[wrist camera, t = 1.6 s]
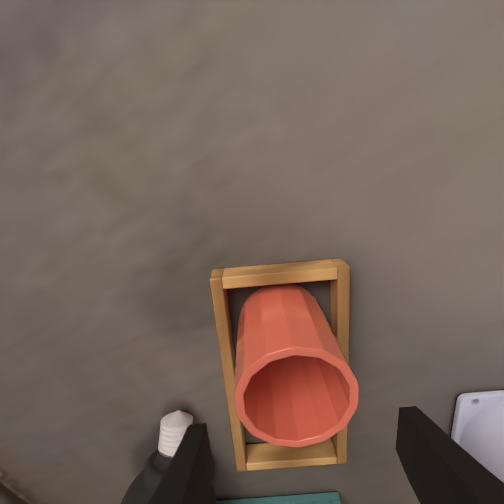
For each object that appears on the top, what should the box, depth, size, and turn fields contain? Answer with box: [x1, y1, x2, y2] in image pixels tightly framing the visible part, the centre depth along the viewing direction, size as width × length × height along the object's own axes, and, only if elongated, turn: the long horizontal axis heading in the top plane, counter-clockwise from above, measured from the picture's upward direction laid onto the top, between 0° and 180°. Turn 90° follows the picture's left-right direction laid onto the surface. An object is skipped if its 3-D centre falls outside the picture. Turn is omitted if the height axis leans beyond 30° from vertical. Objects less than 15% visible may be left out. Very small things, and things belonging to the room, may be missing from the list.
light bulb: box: [121, 410, 217, 504], centre depth 19 cm, size 6×6×10 cm
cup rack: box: [210, 258, 350, 471], centre depth 19 cm, size 8×15×2 cm, turn 5°
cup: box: [234, 283, 359, 447], centre depth 15 cm, size 5×5×6 cm
